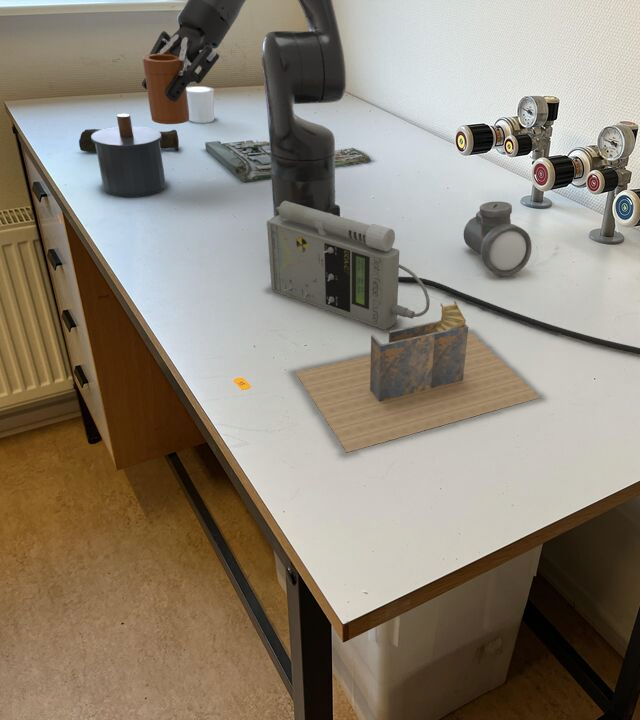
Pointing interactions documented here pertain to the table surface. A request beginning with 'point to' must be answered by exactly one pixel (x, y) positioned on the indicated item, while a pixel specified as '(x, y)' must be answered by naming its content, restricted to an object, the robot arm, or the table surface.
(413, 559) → the table surface
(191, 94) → the white cylinder
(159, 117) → the jar
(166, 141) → the hand tool
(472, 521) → the table surface
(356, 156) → the model
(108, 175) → the tin
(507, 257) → the pipe fitting
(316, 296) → the geiger counter
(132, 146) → the tin lid
